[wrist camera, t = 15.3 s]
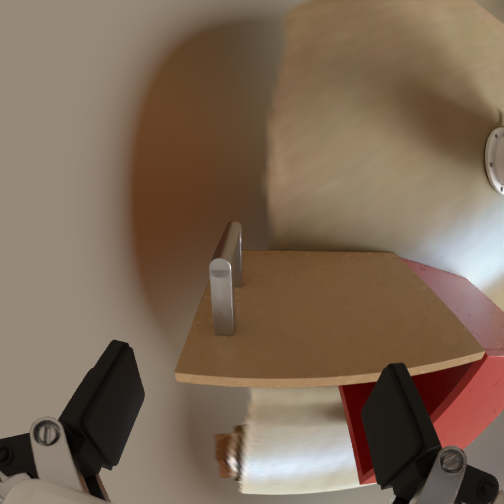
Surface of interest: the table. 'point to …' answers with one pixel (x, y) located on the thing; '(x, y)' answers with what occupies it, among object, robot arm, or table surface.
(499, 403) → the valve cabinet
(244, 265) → the door
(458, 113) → the table surface
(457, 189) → the table surface
